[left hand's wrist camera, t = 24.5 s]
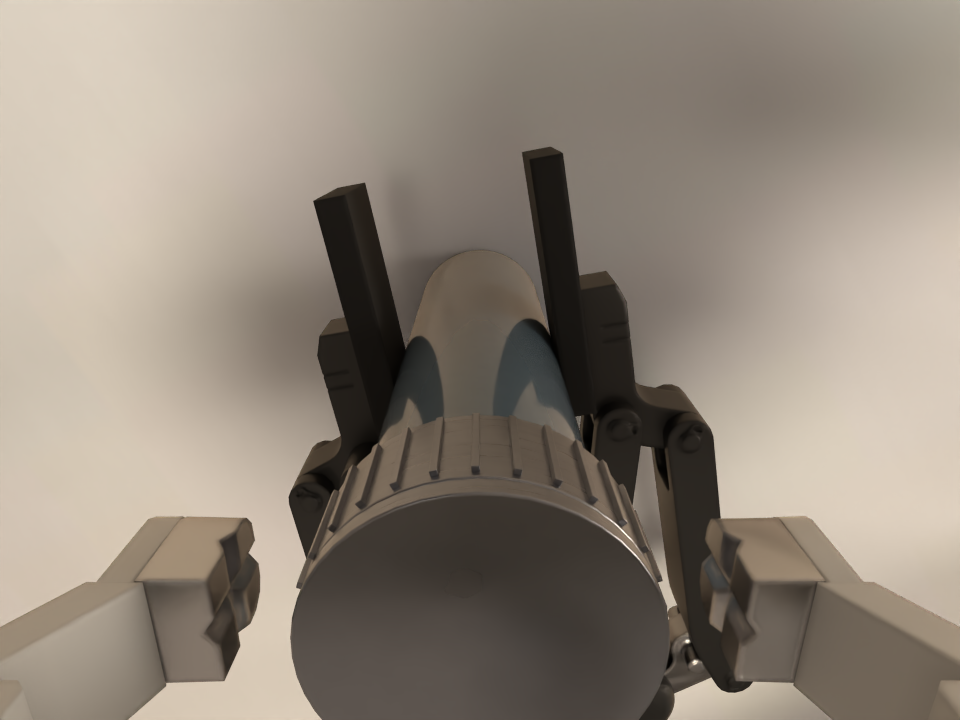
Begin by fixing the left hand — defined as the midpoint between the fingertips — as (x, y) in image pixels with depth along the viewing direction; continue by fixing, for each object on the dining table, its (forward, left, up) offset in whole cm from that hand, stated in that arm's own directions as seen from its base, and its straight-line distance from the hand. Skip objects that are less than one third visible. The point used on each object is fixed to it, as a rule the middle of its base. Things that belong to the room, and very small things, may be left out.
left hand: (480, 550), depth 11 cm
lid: (0, 0, +2) cm, 2 cm away
